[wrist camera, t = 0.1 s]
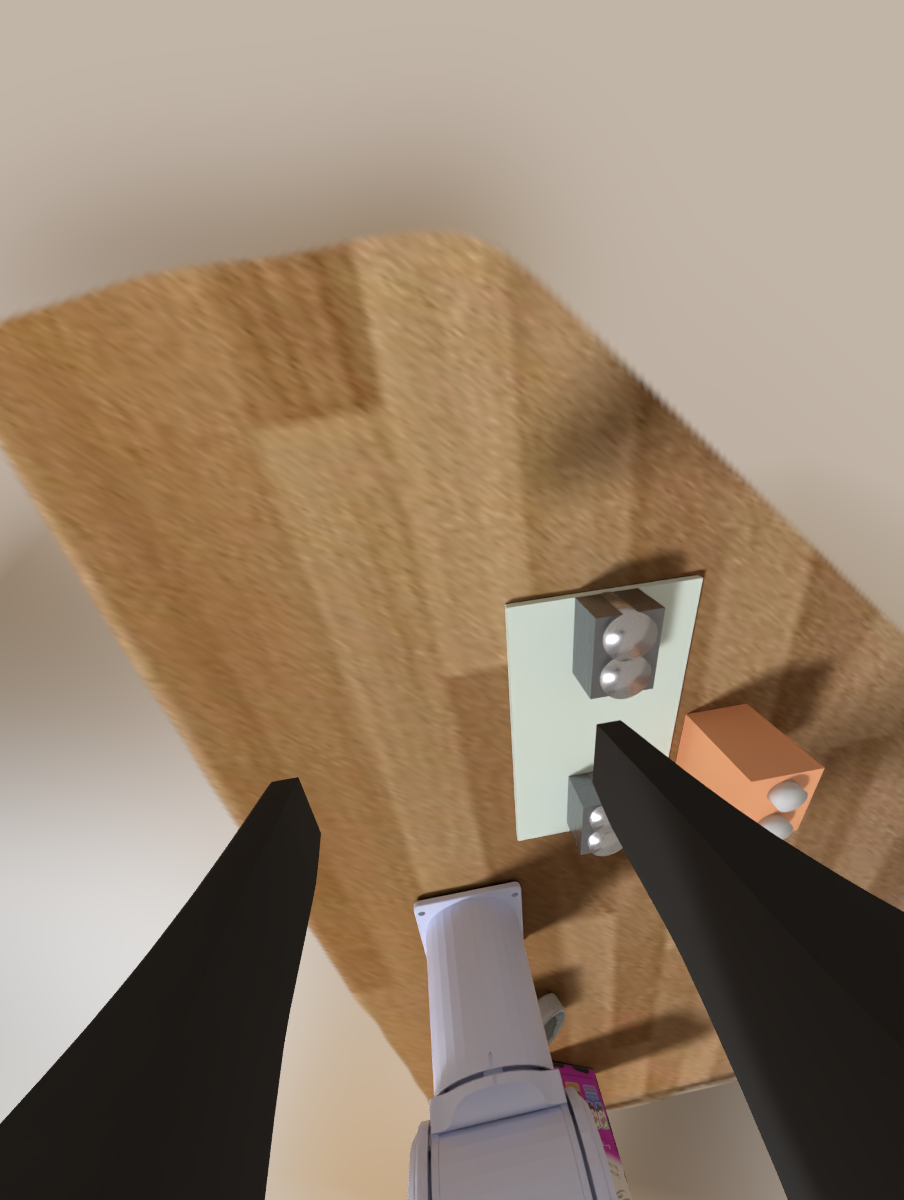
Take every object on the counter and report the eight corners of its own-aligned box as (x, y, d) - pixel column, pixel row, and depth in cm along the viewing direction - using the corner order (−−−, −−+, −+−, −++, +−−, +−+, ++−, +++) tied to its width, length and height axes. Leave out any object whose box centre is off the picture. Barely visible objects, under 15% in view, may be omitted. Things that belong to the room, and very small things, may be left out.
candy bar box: (507, 1074, 46) (558, 1382, 31) (537, 1056, 45) (605, 1367, 30) (566, 1084, 50) (635, 1360, 36) (595, 1068, 49) (679, 1347, 34)
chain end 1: (629, 663, 21) (656, 693, 19) (572, 673, 21) (593, 704, 19) (637, 586, 19) (669, 609, 17) (574, 596, 19) (598, 620, 17)
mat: (654, 808, 28) (657, 814, 27) (516, 835, 27) (518, 841, 27) (697, 574, 20) (703, 578, 19) (504, 604, 19) (506, 607, 19)
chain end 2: (611, 813, 27) (631, 850, 24) (566, 822, 26) (582, 860, 24) (617, 766, 25) (639, 801, 22) (568, 775, 24) (585, 812, 22)
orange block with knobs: (729, 760, 26) (807, 840, 21) (673, 770, 26) (738, 854, 21) (746, 703, 24) (836, 777, 19) (685, 713, 24) (761, 792, 19)
